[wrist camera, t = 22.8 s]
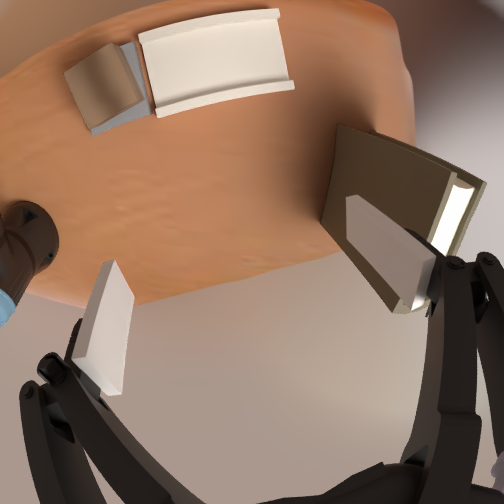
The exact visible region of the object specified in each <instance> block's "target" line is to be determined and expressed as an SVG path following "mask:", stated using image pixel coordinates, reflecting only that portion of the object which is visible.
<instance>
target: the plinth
mask: <svg viewBox="0 0 504 504" xmlns="http://www.w3.org/2000/svg"><path fill="white" fill-rule="evenodd" d="M119 47H120V48H122V50H123V52H124V54H125V57H126V59H127V61H128V63H129V66H130V68H131V70H132V72H133V74H134V77H135V79H136V81H137V83H138V85H139V88H140V90H141V92H142V94H143V96H144V98H145V100H144V101H142V102H140V103H138V104H136V105H135V106H133V107H131V108H129V109H127V110H126V111H124V112H122V113H120V114H119V115H117V116H115V117H114V118H112V119H110V120H109V121H107V122H105V123H104V124H102V125H100V126H97V127H95V128H92V129H91V132H92V136H95V135H97V134H100V133H102V132H104V131H107V130H109V129H112V128H114V127H117V126H119V125H122V124H125V123H127V122H130V121H133V120H136V119H139V118H141V117H144V116H147V115H150V114H153V113H152V109H151V106H150V102H149V98H148V94H147V90H146V85H145V81H144V77H143V73H142V68H141V64H140V59H139V55H138V50H137V46H136V44H135V43H134V42H130V43H127V44H124V45H122V46H119Z"/></svg>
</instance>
